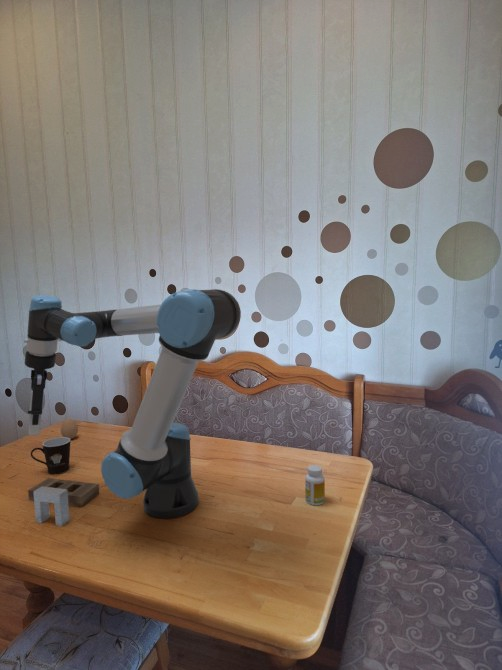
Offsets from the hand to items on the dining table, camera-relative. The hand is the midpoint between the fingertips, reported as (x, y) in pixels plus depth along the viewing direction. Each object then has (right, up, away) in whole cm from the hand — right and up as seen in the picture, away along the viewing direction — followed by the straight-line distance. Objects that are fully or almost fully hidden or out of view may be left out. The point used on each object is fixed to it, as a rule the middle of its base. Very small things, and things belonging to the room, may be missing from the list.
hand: (34, 422), depth 120 cm
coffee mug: (-5, -21, +23) cm, 31 cm away
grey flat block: (+7, -23, +4) cm, 24 cm away
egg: (-12, -18, +52) cm, 57 cm away
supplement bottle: (+80, -22, -1) cm, 83 cm away
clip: (+9, -24, -9) cm, 28 cm away
